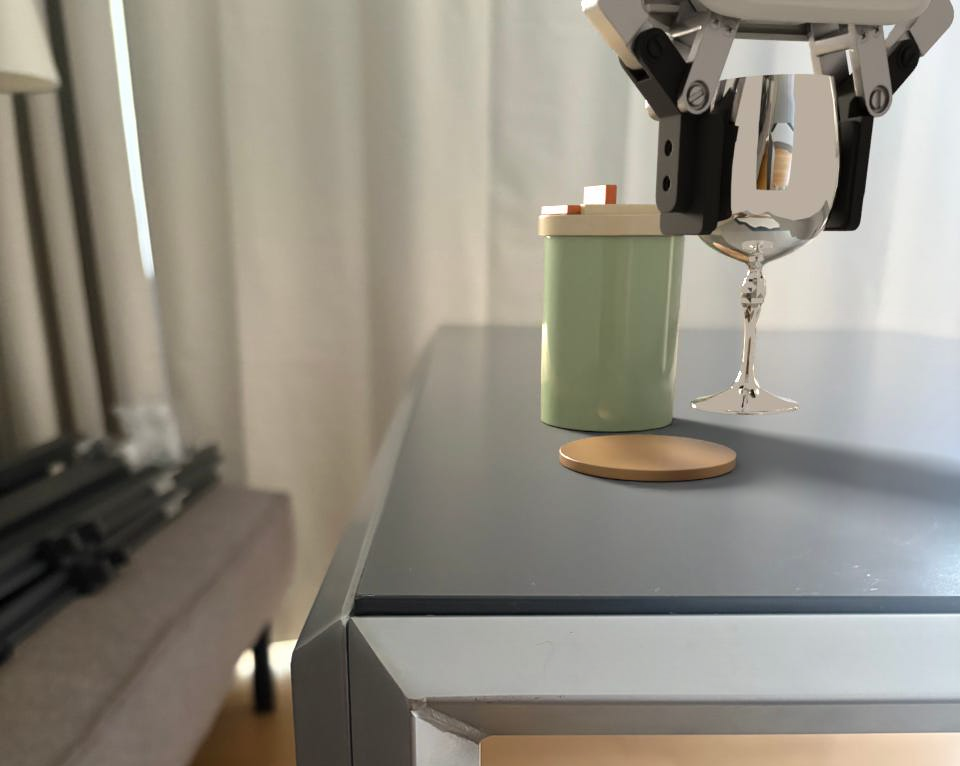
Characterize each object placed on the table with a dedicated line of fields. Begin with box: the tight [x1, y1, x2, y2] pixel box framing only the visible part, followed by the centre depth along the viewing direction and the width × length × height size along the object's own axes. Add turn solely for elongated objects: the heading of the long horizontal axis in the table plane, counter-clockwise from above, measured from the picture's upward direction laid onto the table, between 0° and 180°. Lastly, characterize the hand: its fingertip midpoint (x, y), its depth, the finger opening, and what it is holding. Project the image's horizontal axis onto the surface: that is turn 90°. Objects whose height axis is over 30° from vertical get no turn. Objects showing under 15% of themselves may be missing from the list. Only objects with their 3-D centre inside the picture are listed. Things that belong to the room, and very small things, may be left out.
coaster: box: [558, 434, 737, 482], centre depth 57 cm, size 10×10×1 cm
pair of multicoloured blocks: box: [541, 184, 618, 215], centre depth 64 cm, size 4×4×2 cm
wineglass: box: [690, 73, 842, 416], centre depth 40 cm, size 6×6×12 cm
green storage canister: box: [537, 203, 686, 433], centre depth 67 cm, size 10×10×14 cm
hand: (759, 227), depth 39 cm, fingers closed on wineglass, 5 cm apart
